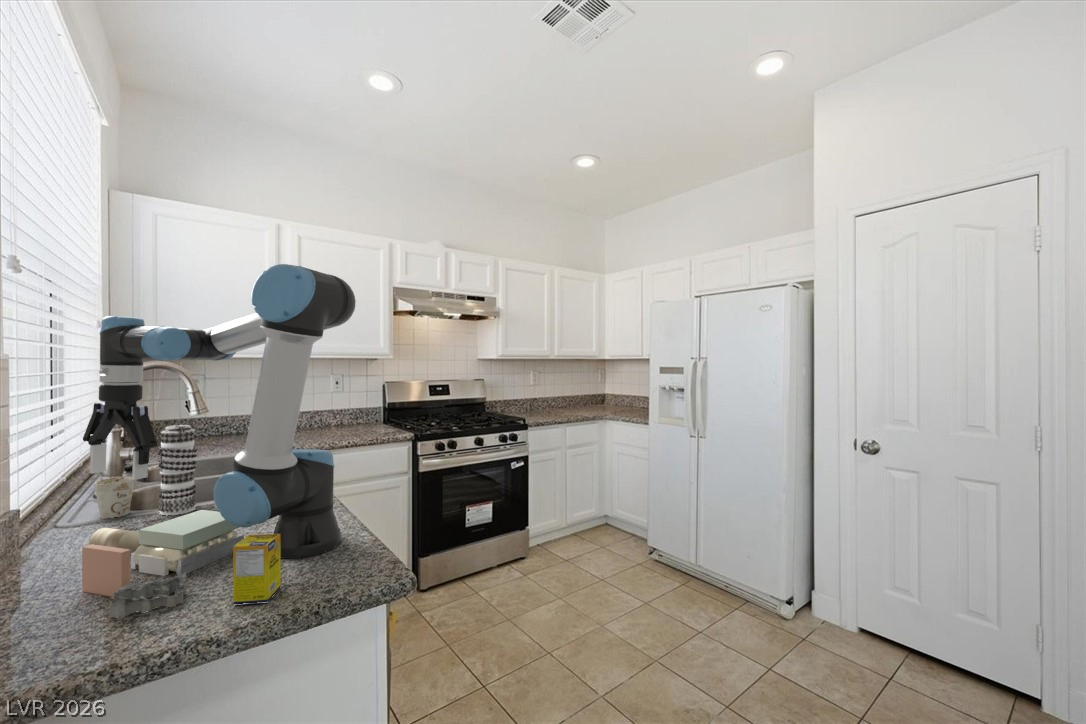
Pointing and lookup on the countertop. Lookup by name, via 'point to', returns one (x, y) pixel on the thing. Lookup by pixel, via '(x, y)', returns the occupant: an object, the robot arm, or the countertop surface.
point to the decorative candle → (177, 470)
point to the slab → (186, 530)
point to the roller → (116, 538)
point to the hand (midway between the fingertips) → (118, 475)
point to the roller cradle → (152, 565)
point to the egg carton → (137, 594)
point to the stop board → (104, 569)
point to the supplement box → (256, 568)
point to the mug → (114, 496)
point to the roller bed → (190, 553)
